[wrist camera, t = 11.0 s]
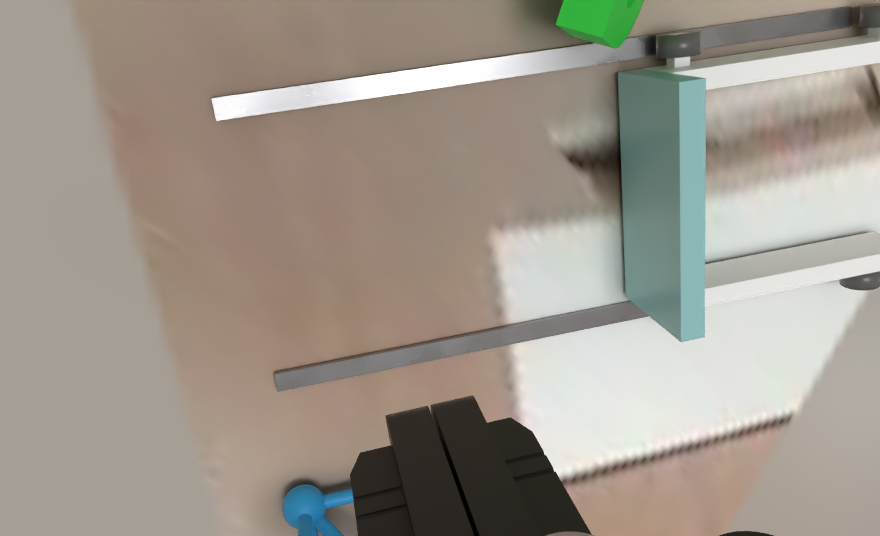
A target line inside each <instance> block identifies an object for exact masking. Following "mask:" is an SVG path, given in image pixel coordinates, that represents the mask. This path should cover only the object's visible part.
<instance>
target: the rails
mask: <svg viewBox="0 0 880 536" xmlns="http://www.w3.org/2000/svg"><path fill="white" fill-rule="evenodd" d="M850 11H851V7H842V8H835V9H828V10H821V11H814V12H807V13H800V14H793V15H786V16H779V17H772V18H765V19H758V20H751V21H744V22H737V23H730V24H723V25H716V26H709V27H702V28H695V29H688V30H681V31H674V32H684V31H700V49H705V48H712V47H719V46H726V45H732V44H739V43H746V42H753V41H759V40H766V39H773V38H780V37H787V36H793V35H800V34H807V33H814V32H820V31H827V30H834V29H841V28H847V27H849V25H850ZM674 32H667V33H674ZM667 33H660V34H653V35H646V36H639V37H632V38H626V39H625V41H624V42H623V44H622V45H621V46H620V47H619V48H617V49H614V48H610V47H607V46H603V45H600V44H596V43H590V44H583V45H576V46H569V47H562V48H556V49H549V50H542V51H535V52H528V53H521V54H514V55H507V56H500V57H493V58H486V59H479V60H472V61H465V62H458V63H451V64H444V65H437V66H430V67H423V68H416V69H409V70H402V71H395V72H388V73H381V74H374V75H367V76H360V77H353V78H346V79H339V80H332V81H325V82H318V83H311V84H304V85H297V86H290V87H283V88H276V89H269V90H263V91H256V92H249V93H242V94H235V95H228V96H221V97H214V98H211V99H212V104H213V108H214V113H215V117H216V121H219V120H226V119H232V118H239V117H246V116H253V115H259V114H266V113H273V112H280V111H286V110H293V109H300V108H307V107H313V106H320V105H327V104H334V103H340V102H347V101H354V100H361V99H368V98H374V97H381V96H388V95H395V94H401V93H408V92H415V91H422V90H428V89H435V88H442V87H449V86H455V85H462V84H469V83H476V82H482V81H489V80H496V79H503V78H509V77H516V76H523V75H530V74H536V73H543V72H550V71H557V70H563V69H570V68H577V67H584V66H591V65H597V64H604V63H611V62H618V61H624V60H631V59H638V58H645V57H651V56H656V36H657V35H661V34H667ZM648 316H649V315H647V314H646V313H645V312H644V311H643V310H641V309H640V308H639V307H638V306H636V305H635V304H634V303H633V302H632V301H628V302H623V303H618V304H613V305H608V306H603V307H598V308H593V309H588V310H583V311H578V312H573V313H568V314H563V315H558V316H553V317H548V318H543V319H538V320H533V321H528V322H523V323H517V324H512V325H507V326H502V327H497V328H492V329H487V330H482V331H477V332H472V333H467V334H462V335H457V336H452V337H447V338H442V339H437V340H432V341H427V342H422V343H417V344H412V345H407V346H402V347H397V348H392V349H387V350H382V351H377V352H372V353H367V354H362V355H357V356H352V357H347V358H342V359H337V360H332V361H327V362H322V363H317V364H312V365H307V366H302V367H297V368H292V369H287V370H282V371H277V372H274V378H275V382H276V386H277V391H278V392H279V391H284V390H288V389H293V388H298V387H303V386H308V385H313V384H318V383H323V382H328V381H333V380H338V379H343V378H347V377H352V376H357V375H362V374H367V373H372V372H377V371H382V370H387V369H392V368H397V367H402V366H407V365H411V364H416V363H421V362H426V361H431V360H436V359H441V358H446V357H451V356H456V355H461V354H466V353H470V352H475V351H480V350H485V349H490V348H495V347H500V346H505V345H510V344H515V343H520V342H525V341H529V340H534V339H539V338H544V337H549V336H554V335H559V334H564V333H569V332H574V331H579V330H584V329H589V328H593V327H598V326H603V325H608V324H613V323H618V322H623V321H628V320H633V319H638V318H643V317H648Z"/></svg>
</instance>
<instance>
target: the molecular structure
mask: <svg viewBox="0 0 880 536" xmlns="http://www.w3.org/2000/svg"><path fill="white" fill-rule="evenodd" d="M352 502H354V499H353V493H352V488H351V489H347V490H343V491H338V492H334V493H330V494H326V495H323V494H322V492H321V491H320V490H319V489H318V488H316V487H315V486H312V485H309V484H305V485H299V486H296V487H294V488H293V489H291V490H290V491H289V492H288V493H287V495H286V496H285V498H284V501H283V515H284V517H285V519H286V521H287V522H288V523H289V524H290V525H291V526H292V527H294V528H297V529H298V536H318V532H317V530H318V531H319V532H320V533H321V534H322V535H323V536H344V535H343V534H342V533H341V532H340V531H339V530H338V529H337V528H336V527H335V526H334V525H333V524H332V523H331V522H330V521H329V520H328V519H327V518H326V517H325V516H324V514H325V510H326V509H327V508H331V507H335V506H339V505H344V504H348V503H352Z"/></svg>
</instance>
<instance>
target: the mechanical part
mask: <svg viewBox="0 0 880 536" xmlns="http://www.w3.org/2000/svg"><path fill="white" fill-rule="evenodd" d="M643 1H644V0H564V1H563V4H562V7H561V10H560V13H559V16H558V19H557V22H556V25H557V26H558V27H559V28H561V29H562V30H564V31H565V32H566V33H568V34H569V35H570V36H572V37H575V38H579V39H582V40H586V41H589V42H593V43H596V44H600V45H603V46H607V47H610V48H614V49H617V48H619V47H620V46H621V45H622V44H623V42H624V41H625V39H626V38H627V36H628V34H629V33H630V31H631V29H632V27H633V25H634V23H635V20H636V18H637V16H638V14H639V11H640V9H641V6H642V4H643Z"/></svg>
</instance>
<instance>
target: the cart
mask: <svg viewBox="0 0 880 536" xmlns="http://www.w3.org/2000/svg"><path fill="white" fill-rule="evenodd" d="M859 28H868V35H862V36H856V37H849V38H842V39H836V40H829V41H822V42H816V43H809V44H803V45H796V46H789V47H783V48H776V49H769V50H763V51H756V52H749V53H743V54H736V55H729V56H723V57H716V58H709V59H703V60H696V61H690V56H695V55H699V54H700V31H684V32H674V33H667V34H661V35H657V36H656V58H660V59H666V65H663V66H656V67H649V68H643V69H636V70H629V71H623V72H618V89H619V118H620V146H621V174H622V203H623V231H624V259H625V287H626V297H627V298H628V299H629V300H630V301H632V302H633V303H634V304H635V305H636V306H638V307H639V308H640V309H641V310H643V311H644V312H645V313H646V314H647V315H649V316H650V317H651V318H652V319H654V320H655V321H656V322H657V323H658V324H660V325H661V326H662V327H663V328H665V329H666V330H667V331H668V332H669V333H671V334H672V335H673V336H674V337H676V338H677V339H678V340H679V341H680V342H684V341H689V340H693V339H698V338H703V337H705V307H706V306H711V305H716V304H721V303H726V302H731V301H736V300H741V299H746V298H751V297H756V296H760V295H765V294H770V293H775V292H780V291H785V290H790V289H795V288H800V287H805V286H810V285H814V284H819V283H824V282H829V281H834V280H839V279H840V284H841V285H842V286H844V287H846V288H849V289H854V290H873V289H876V288H878V287H879V286H880V234H879V233H877V232H869V233H864V234H858V235H853V236H848V237H843V238H838V239H833V240H828V241H822V242H817V243H812V244H807V245H802V246H797V247H792V248H786V249H781V250H776V251H771V252H766V253H761V254H756V255H750V256H745V257H740V258H735V259H730V260H725V261H720V262H714V263H709V264H705V161H706V90H708V89H715V88H721V87H728V86H734V85H740V84H747V83H753V82H759V81H766V80H772V79H779V78H785V77H791V76H798V75H804V74H810V73H817V72H823V71H830V70H836V69H842V68H849V67H855V66H861V65H868V64H874V63H880V3H877V4H869V5H863V6H860V14H859Z"/></svg>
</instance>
